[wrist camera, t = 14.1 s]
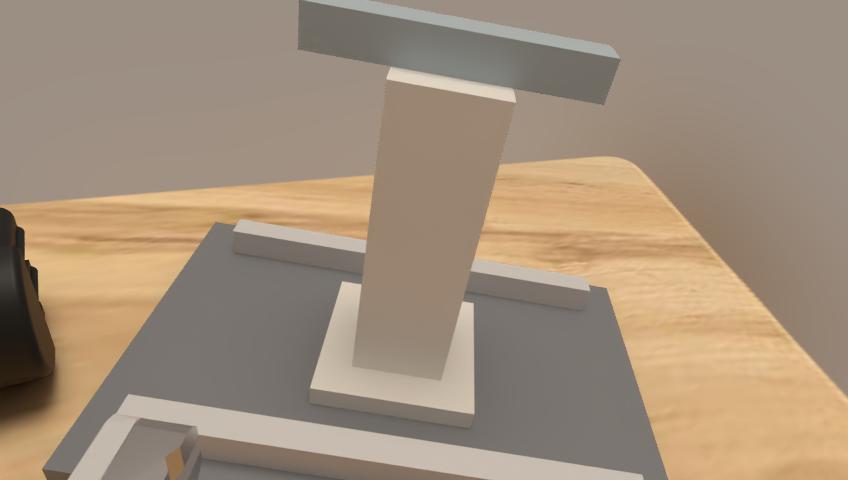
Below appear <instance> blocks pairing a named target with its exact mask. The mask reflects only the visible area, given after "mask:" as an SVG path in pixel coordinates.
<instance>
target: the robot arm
mask: <svg viewBox="0 0 848 480" xmlns="http://www.w3.org/2000/svg"><path fill="white" fill-rule="evenodd" d="M198 437H199V436H198V431H197V426H190V425H184V424H177V423H171V422H164V421H158V420H151V419H146V418H142V417H135V416H128V415H121V414H113V415H112V416H111V417H110V418H109V419H108V420H107V421H106V422H105V423H104V424H103V426H102V428H101V429H100V431H99V432H98V434H97V435H96V437H95V438H94V440H93V441H92V443H91V444H90V446H89V447H88V449H87V450H86V452H85V453H84V455H83V457H82V458H81V460H80V461H79V463H78V464H77V466H76V467H75V469H74V470H73V472H72V473H71V475H70V476H69V478H68V479H67V480H198V476H199V473H200V469H201V460H202V457H201V450H200V449H199V448H198V447H196V446H195V444H196V441H197V439H198Z"/></svg>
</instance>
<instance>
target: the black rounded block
mask: <svg viewBox="0 0 848 480" xmlns="http://www.w3.org/2000/svg"><path fill="white" fill-rule="evenodd" d="M54 365H55V347H54V344H53V341H52V338H51V335H50V332H49V329H48V326H47V324H46V321H45V313H44V310H43V307H42V305H41V303H40V302H39V299H38V270H37V269H36V268H35V267H32V266H31V265H30V262H29V260H25V242H24V230H23V229H22V228H21V227H18V226H17V224H16V221H15V218H14V216H13V214H12V213H11V212H10V211H8V210H6V209H4V208H0V388H4V387H8V386H12V385H16V384H20V383H24V382H28V381H32V380H36V379H40V378H43V377H46V376H48V375H49V374H50V373H51V372H52V371H53V369H54Z"/></svg>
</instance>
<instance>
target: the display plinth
mask: <svg viewBox="0 0 848 480" xmlns="http://www.w3.org/2000/svg"><path fill="white" fill-rule="evenodd" d="M366 243H367V240H361V239H355V238H350V237H344V236H338V235H332V234H326V233H320V232H314V231H308V230H302V229H296V228H290V227H285V226H279V225H273V224H267V223H261V222H255V221H249V220H243V219H240V220H239V222H238V224H237V225H236V226H235V225H229V224H223V223H217V222H215V224H214V225H213V227H212V228H211V229H210V231H209V232H208V234H207V235H206V237H205V238H204V239H203V241H202V242H201V244H200V245H199V247H198V248H197V249H196V251H195V252H194V254H193V255H192V256H191V258H190V259H189V261H188V262H187V264H186V265H185V266H184V268H183V269H182V271H181V272H180V274H179V275H178V276H177V278H176V279H175V281H174V282H173V284H172V285H171V286H170V288H169V289H168V291H167V292H166V293H165V295H164V296H163V298H162V299H161V301H160V302H159V303H158V305H157V306H156V308H155V309H154V311H153V312H152V313H151V315H150V316H149V318H148V319H147V321H146V322H145V323H144V325H143V326H142V328H141V329H140V331H139V332H138V333H137V335H136V336H135V338H134V339H133V340H132V342H131V343H130V345H129V346H128V348H127V349H126V350H125V352H124V353H123V355H122V356H121V358H120V359H119V360H118V362H117V363H116V365H115V366H114V368H113V369H112V370H111V372H110V373H109V375H108V376H107V377H106V379H105V380H104V382H103V383H102V385H101V386H100V387H99V389H98V390H97V392H96V393H95V395H94V396H93V397H92V399H91V400H90V402H89V403H88V405H87V406H86V407H85V409H84V410H83V412H82V413H81V414H80V416H79V417H78V419H77V420H76V422H75V423H74V424H73V426H72V427H71V429H70V430H69V432H68V433H67V434H66V436H65V437H64V439H63V440H62V442H61V443H60V444H59V446H58V447H57V449H56V450H55V452H54V453H53V454H52V456H51V457H50V459H49V460H48V461H47V463H46V464H45V466H44V467H43V469H42V470H43V472H44V474H45V477H46V479H47V480H67V479H68V478H69V476H70V475H71V473H72V472H73V470H74V469H75V467H76V466H77V464H78V463H79V461H80V460H81V458H82V457H83V455H84V453H85V452H86V450H87V449H88V447H89V446H90V444H91V443H92V441H93V440H94V438H95V437H96V435H97V434H98V432H99V431H100V429H101V428H102V426H103V424H104V423H105V422H106V421H107V420H108V419H109V418H110V417H111V416H112V415H113V414H121V415H128V416H135V417H142V418H146V419H151V420H158V421H164V422H171V423H177V424H184V425H190V426H197V431H198V436H199V437H198V439H197V441H196V444H195V446H196V447H198V448H199V449H200V450H201V457H202V460H201V469H200V473H199V476H198V480H668V478H667V475H666V472H665V468H664V465H663V462H662V459H661V456H660V453H659V450H658V447H657V444H656V441H655V437H654V434H653V431H652V428H651V425H650V422H649V419H648V416H647V413H646V410H645V406H644V403H643V400H642V397H641V394H640V391H639V388H638V385H637V382H636V378H635V375H634V372H633V369H632V366H631V363H630V360H629V357H628V354H627V351H626V347H625V344H624V341H623V338H622V335H621V332H620V329H619V326H618V323H617V319H616V316H615V313H614V310H613V307H612V304H611V301H610V298H609V295H608V292H607V288H602V287H596V286H590V285H588V281H587V278H586V277H580V276H574V275H568V274H562V273H556V272H550V271H544V270H538V269H533V268H527V267H521V266H515V265H509V264H503V263H497V262H491V261H485V260H479V259H474V261H473V264H472V268H471V272H470V275H469V279H468V283H467V286H466V290H465V294H464V298H463V302H469V303H474V411H475V415H474V417H473V420H472V423H471V426H470V429H469V428H463V427H456V426H450V425H444V424H437V423H431V422H425V421H418V420H412V419H406V418H400V417H393V416H387V415H381V414H374V413H368V412H362V411H355V410H349V409H343V408H336V407H330V406H324V405H318V404H311V403H309V394H310V386H311V383H312V379H313V376H314V373H315V369H316V366H317V363H318V359H319V356H320V353H321V350H322V346H323V343H324V340H325V336H326V333H327V330H328V326H329V323H330V320H331V317H332V313H333V310H334V307H335V303H336V300H337V297H338V293H339V290H340V287H341V284H342V281H343V282H349V283H355V284H361V285H362V277H363V268H364V260H365V252H366Z"/></svg>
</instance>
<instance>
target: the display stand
mask: <svg viewBox="0 0 848 480" xmlns="http://www.w3.org/2000/svg"><path fill="white" fill-rule="evenodd" d="M298 50H304V51H309V52H315V53H321V54H326V55H331V56H337V57H343V58H348V59H354V60H359V61H365V62H370V63H375V64H381V65H387V66H391V68H390V70H389V73H388V76H387V78H386V84H385V93H384V102H383V110H382V118H381V127H380V135H379V143H378V151H377V160H376V168H375V176H374V185H373V193H372V202H371V210H370V218H369V227H368V235H367V243H366V252H365V260H364V268H363V277H362V285H361V284H355V283H349V282H343V281H342V284H341V287H340V290H339V293H338V297H337V300H336V303H335V307H334V310H333V313H332V317H331V320H330V323H329V326H328V330H327V333H326V336H325V340H324V343H323V346H322V350H321V353H320V356H319V359H318V363H317V366H316V369H315V373H314V376H313V379H312V383H311V386H310V394H309V403H311V404H318V405H324V406H330V407H336V408H343V409H349V410H355V411H362V412H368V413H374V414H381V415H387V416H393V417H400V418H406V419H412V420H418V421H425V422H431V423H437V424H444V425H450V426H456V427H463V428H469V429H470V426H471V423H472V420H473V417H474V415H475V411H474V303H469V302H463V298H464V294H465V290H466V286H467V283H468V279H469V275H470V272H471V268H472V264H473V261H474V257H475V253H476V249H477V246H478V242H479V238H480V235H481V231H482V227H483V223H484V220H485V216H486V212H487V209H488V205H489V201H490V197H491V194H492V190H493V186H494V183H495V179H496V175H497V172H498V168H499V164H500V160H501V157H502V153H503V149H504V146H505V142H506V138H507V134H508V131H509V127H510V123H511V120H512V116H513V112H514V109H515V105H516V100H515V95H514V90H513V89H519V90H524V91H530V92H535V93H541V94H547V95H552V96H557V97H563V98H568V99H574V100H579V101H585V102H591V103H596V104H602V105H604V103H605V100H606V98H607V95H608V92H609V89H610V86H611V84H612V81H613V79H614V76H615V73H616V70H617V68H618V65H619V62H620V60H621V59H620V57H619V56H618V55H617V53H616V52H615V51H614V50H613V48H612V47H611V46H610V45H605V44H600V43H594V42H589V41H583V40H578V39H573V38H568V37H562V36H556V35H551V34H546V33H541V32H535V31H530V30H524V29H518V28H514V27H508V26H503V25H497V24H492V23H487V22H481V21H476V20H471V19H465V18H459V17H454V16H449V15H444V14H438V13H432V12H427V11H421V10H416V9H411V8H405V7H401V6H395V5H390V4H384V3H379V2H373V1H368V0H299V28H298Z"/></svg>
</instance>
